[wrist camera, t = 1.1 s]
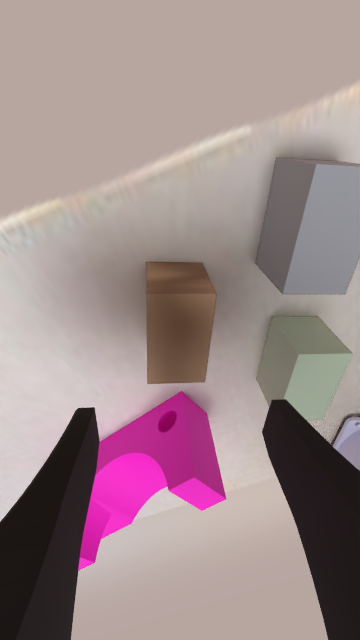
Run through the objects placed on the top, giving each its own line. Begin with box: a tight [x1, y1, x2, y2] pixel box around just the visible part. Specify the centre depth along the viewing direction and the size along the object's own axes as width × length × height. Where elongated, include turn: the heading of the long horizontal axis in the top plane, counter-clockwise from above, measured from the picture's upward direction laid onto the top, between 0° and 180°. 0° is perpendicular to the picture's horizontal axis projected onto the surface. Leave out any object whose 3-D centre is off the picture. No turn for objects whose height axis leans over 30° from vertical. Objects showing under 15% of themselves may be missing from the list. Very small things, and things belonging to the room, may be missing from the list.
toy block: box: [78, 391, 226, 571], centre depth 25 cm, size 15×6×8 cm, turn 127°
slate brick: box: [256, 158, 360, 294], centre depth 16 cm, size 4×6×4 cm, turn 177°
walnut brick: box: [146, 262, 217, 384], centre depth 18 cm, size 4×6×4 cm, turn 177°
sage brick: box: [256, 316, 353, 420], centre depth 21 cm, size 4×6×4 cm, turn 177°
